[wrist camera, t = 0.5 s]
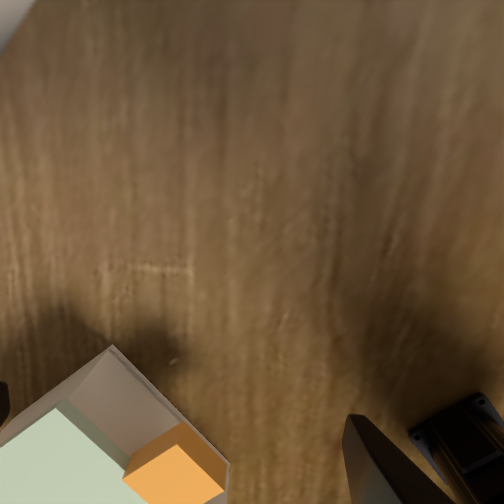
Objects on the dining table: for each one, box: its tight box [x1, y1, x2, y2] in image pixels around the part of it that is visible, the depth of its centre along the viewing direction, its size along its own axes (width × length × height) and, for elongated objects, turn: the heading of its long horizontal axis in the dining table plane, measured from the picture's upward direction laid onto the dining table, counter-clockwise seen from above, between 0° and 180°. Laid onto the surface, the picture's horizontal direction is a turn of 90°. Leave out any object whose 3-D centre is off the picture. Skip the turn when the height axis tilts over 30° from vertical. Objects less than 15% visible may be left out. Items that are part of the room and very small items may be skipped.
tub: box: [0, 344, 230, 504], centre depth 22 cm, size 14×11×6 cm
